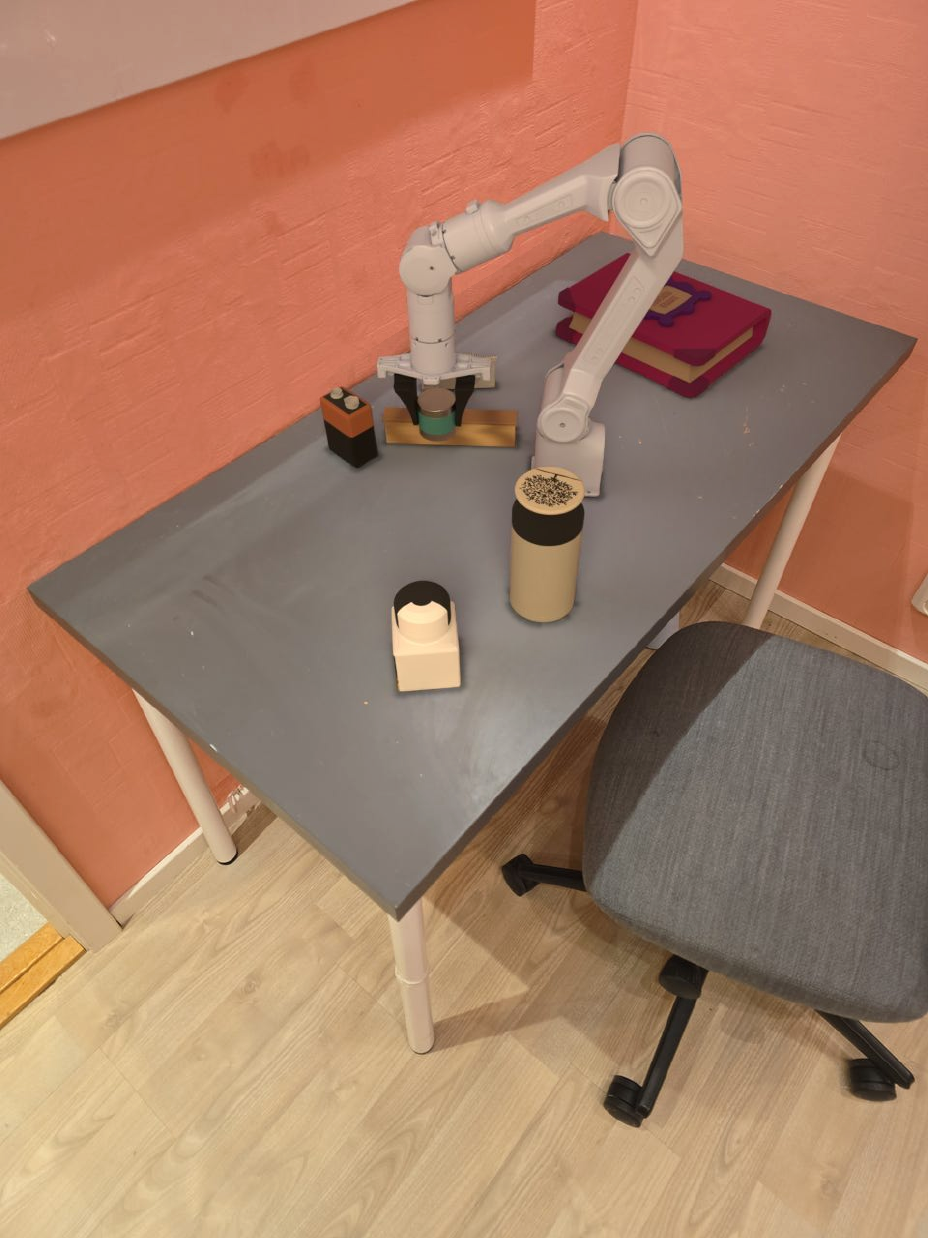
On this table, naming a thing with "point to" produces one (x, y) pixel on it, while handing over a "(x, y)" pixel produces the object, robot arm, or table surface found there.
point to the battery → (349, 426)
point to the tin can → (437, 414)
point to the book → (673, 329)
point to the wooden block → (473, 430)
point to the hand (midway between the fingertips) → (437, 421)
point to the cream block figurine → (425, 638)
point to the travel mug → (546, 543)
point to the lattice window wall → (478, 380)
